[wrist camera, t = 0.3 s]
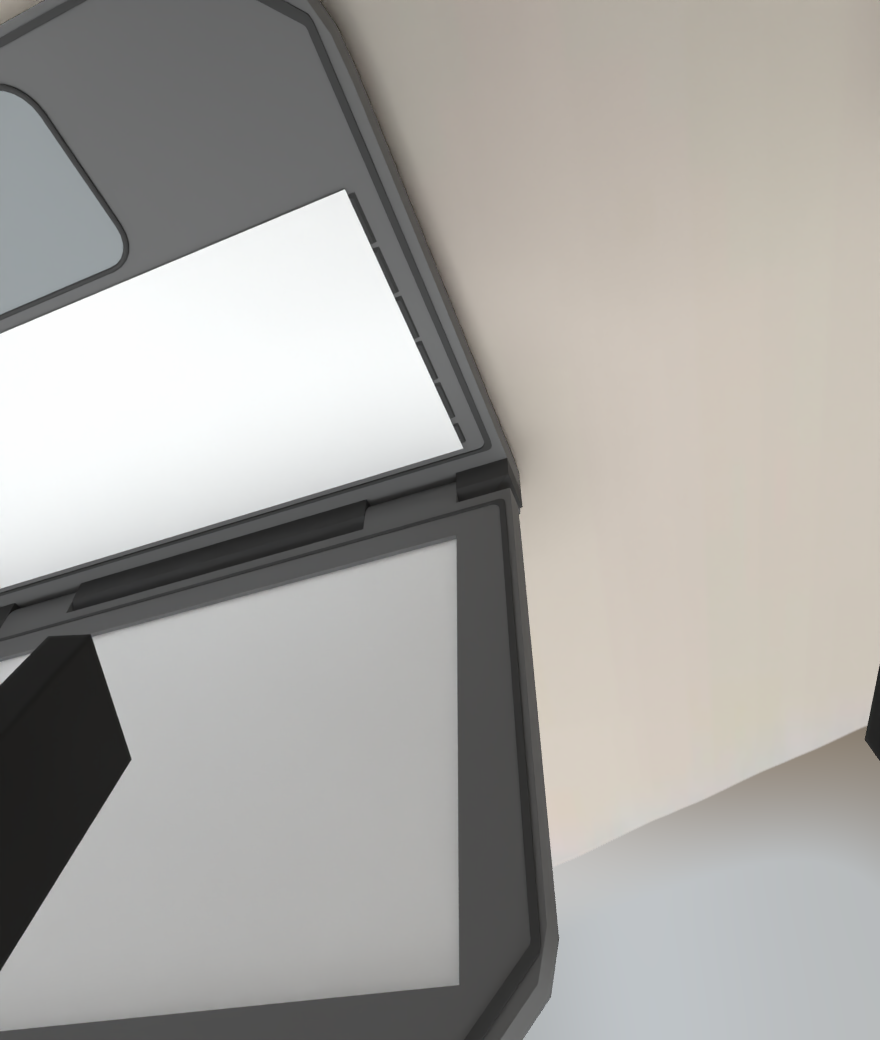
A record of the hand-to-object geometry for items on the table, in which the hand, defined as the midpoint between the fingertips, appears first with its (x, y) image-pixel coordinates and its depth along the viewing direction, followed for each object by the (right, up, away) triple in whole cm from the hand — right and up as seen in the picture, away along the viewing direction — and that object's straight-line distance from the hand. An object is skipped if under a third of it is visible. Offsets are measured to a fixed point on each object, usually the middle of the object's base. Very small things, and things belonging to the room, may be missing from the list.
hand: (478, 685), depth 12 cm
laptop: (-19, +11, +29) cm, 36 cm away
